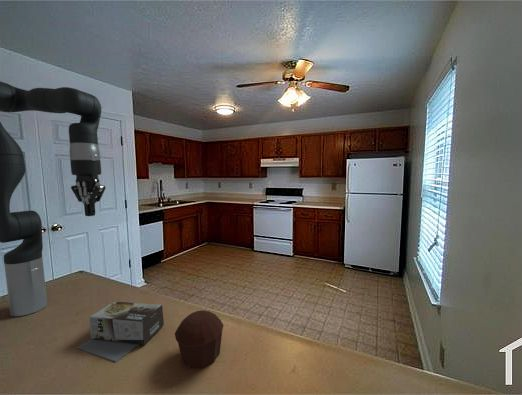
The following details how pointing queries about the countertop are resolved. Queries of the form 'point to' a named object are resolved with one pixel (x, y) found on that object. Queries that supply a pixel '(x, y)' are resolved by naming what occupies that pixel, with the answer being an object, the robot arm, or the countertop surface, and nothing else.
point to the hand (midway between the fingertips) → (90, 215)
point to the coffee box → (127, 322)
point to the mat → (107, 348)
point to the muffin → (199, 339)
